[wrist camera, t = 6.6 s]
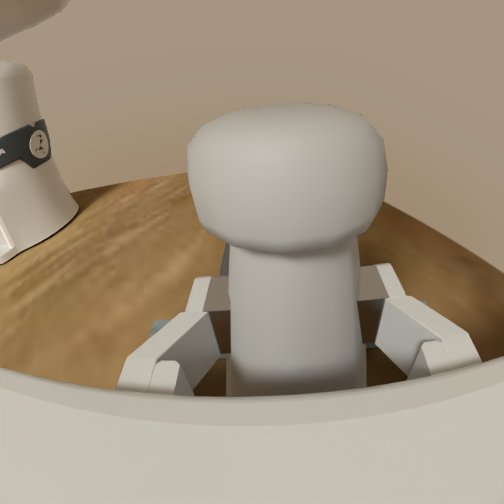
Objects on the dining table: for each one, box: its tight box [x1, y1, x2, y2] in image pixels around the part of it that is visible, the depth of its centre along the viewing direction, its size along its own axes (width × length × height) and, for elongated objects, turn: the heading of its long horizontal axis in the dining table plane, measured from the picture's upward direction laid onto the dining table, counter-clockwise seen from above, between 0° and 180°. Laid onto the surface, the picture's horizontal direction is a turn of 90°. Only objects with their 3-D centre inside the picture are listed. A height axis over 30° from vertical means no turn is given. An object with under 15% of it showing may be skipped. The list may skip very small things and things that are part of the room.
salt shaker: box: [187, 103, 388, 397], centre depth 10 cm, size 6×6×13 cm
